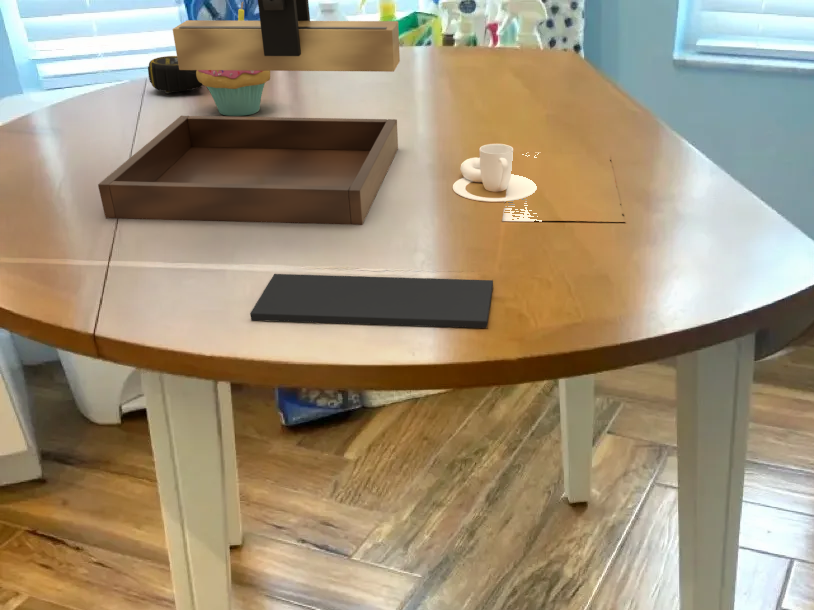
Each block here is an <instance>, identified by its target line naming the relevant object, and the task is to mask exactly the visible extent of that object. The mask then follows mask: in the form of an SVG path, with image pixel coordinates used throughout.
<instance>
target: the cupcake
mask: <svg viewBox="0 0 814 610" xmlns="http://www.w3.org/2000/svg"><path fill="white" fill-rule="evenodd" d="M243 8H244V1H242V2H241V4H240V8H239V9H237V10H238V11H237V21H245V9H243ZM196 76H197V79H198V81H199V82H200V83H202V84H203V85H202V86H204V87H206V88H207V90H208V91H209V93H210V95H211V98H212V99H213V101H214V103H215V105H216V108H217V111H218V113H219V114H220V115H222V116H226V117H247V116H250V115H254V114H257V113H258V112H259V111H260V108H261V102H262V95H263V91H264V87H265V84H266V83H267V82H269V81H270V80H271V71H249V70H197V71H196Z"/></svg>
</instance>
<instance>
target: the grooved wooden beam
mask: <svg viewBox="0 0 814 610" xmlns="http://www.w3.org/2000/svg"><path fill="white" fill-rule="evenodd" d="M298 27H299V37H300V47H301V55H300V56H264V49H263V41H262V32H261V24H260V20H244V21H238V20H208V19H207V20H197V19H196V20H195V19H192V20H190V19H189V20H185V21H183V22H182V23H180V24H179V25H177V26H175V27H174V28H172V35H173V41H174V46H175V47H174V48H175V52H176V56H177V59H178V65H179V70H249V71H270V72H275V71H276V72H381V73H382V72H384V73H388V72H392V73H393V72H395V70H396V69H397V67H398V65H399V64H400V62H401V57H400V56H401V55H400V35H399V33H400V31H399V21H398V20H393V21H392V20H381V21H380V20H310V21H298Z"/></svg>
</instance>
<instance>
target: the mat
mask: <svg viewBox="0 0 814 610" xmlns="http://www.w3.org/2000/svg"><path fill="white" fill-rule="evenodd" d="M493 289H494V280H493V279H465V278H464V279H462V278H461V279H460V278H459V279H458V278H430V277H426V278H425V277H399V276H397V277H395V276H364V275H362V276H359V275H331V274H330V275H329V274H325V275H324V274H294V273H274V274H273V275H272V277H271V278H270V280H269V281H268V283H267V284H266V287H265V288H264V290H263V291H262V293H261V295H260V297H259V298H258V300H257V301H256V303H255V305H254V307H253V308H252V309H251V311H250V314H249V315H250V320H251V321H258V322H259V321H260V322H288V323H317V324H318V323H319V324H320V323H321V324H348V325H373V326H375V325H376V326H378V325H379V326H403V327H404V326H408V327H409V326H410V327H433V328H434V327H436V328H440V327H441V328H462V329H463V328H467V329H488V324H489V317H490V310H491V303H492V297H493V296H492V295H493Z"/></svg>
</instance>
